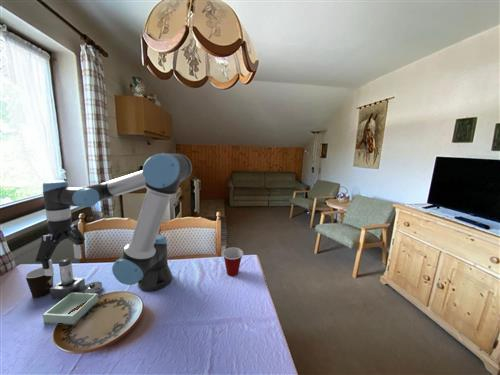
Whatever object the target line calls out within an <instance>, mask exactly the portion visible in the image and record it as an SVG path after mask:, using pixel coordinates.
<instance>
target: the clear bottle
mask: <svg viewBox="0 0 500 375" xmlns="http://www.w3.org/2000/svg"><path fill="white" fill-rule="evenodd" d="M58 268H59V274H60V281H61V284H62V286H64V287H69V286H70V285H71V284H73V283H74V279H73V277H74V271H73V263H72V258H70V257H68V258H63V259H60V260H59V261H58Z"/></svg>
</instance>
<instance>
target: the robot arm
mask: <svg viewBox="0 0 500 375" xmlns="http://www.w3.org/2000/svg"><path fill="white" fill-rule="evenodd" d="M192 171H193V165H192V162H191V160H190V159H189V157H188V156H186V155H185V154H182V153H179V152H178V153H174V152H173V153H168V152H167V153H166V152H162V153H156V154H154V155H152V156H150V157H149V158H148V159H146V160H145V161H144V164H143V166H142V170H139V171H136V172H132V173H130V174H126V175H123V176H120V177H117V178H114V179H110V180H108V181H104V182H101V183H96V184H92V185H91V184H90V185H85V186H79V187H76V186H75V187H74V186H69V183H68V181H66V180H50V181H49V180H48V181H45V182H43V183H42V195H43V201H44V208H45V216H46V226H47V230H49V234H47V235H45V234H44V235H41V242H40V245H39V248H38V252H37V255H36V257H35V263H41V266H42V267H43V269H44V270H45V276H53V277H54V267H53V260H52V259H51V258H52V256H53V253H54V252H55V250H56V248H57V246H58V245H59V244H60V243H61V242H63V241H65V240H69V241H70V242H72V243H73V246H72V247H73V256H74V259H78V260H79V259H80V260H81V259H82V249H83V248H82V245H83V244H84V242H85V241H86V238H85V236H83V234H82V232H81V231H80V229H79V227H78V224H73V221H72V210H71V207H78V208H79V207H80V208H92V207H95V206H96V204H97V203H98V202H101V201H104V200H108V199H109V200H110V199H112V198H115V197H118V196H120V195H121V196H122V195H124V194H128V193H131V192H134V191H138V190H142V189H145V188H146V193H145V196H144V199H143V202H142V205H141V209H140V211H139V215H138V219H137V221H136V224H135V227H134V230H133V234H132V235H131V236H132V237H131V240H130V242H128V243H127V244H125V245H124V248H123V251H122V253H121V254H122V255H121V256H120V258H118V259H117V260H116V261H115V262H114V263H113V264H112V267H111V268H112V270H111V271H112V275H113V277H115V279H116V280H117V281H118V282H119V283H121V284H123V285H127V286H132V285H136V284H137V287H138V289H139V290H141V291H145V292H152V291H153V292H154V291H157V290H161V289H163V288H165V287H166V286H168V285H170V283H172V279H173V274H172V271H171V269H170V267H169V264H168V242H167V241H168V240H167V237H166V235H163V234H160V233H159V231H160V228H161V225H162V222H163V219H164V217H165V214H166V211H167V208H168V205H169V203H170V199H171V198H172V196H174V195H176V194H177V192H178V188H179V187H180V183H181V182H183V181H185V180H186V179H188V178H189V177H190V176H191V174H192Z"/></svg>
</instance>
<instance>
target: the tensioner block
mask: <svg viewBox="0 0 500 375" xmlns="http://www.w3.org/2000/svg"><path fill="white" fill-rule="evenodd" d="M73 279H74V283H73V284H71V285H70V286H69V287H64V286H62V284H61V280H60V281H59V282H58V283H56V284H53V287H51V288H50V297H51V299H50V300H58V301H59V300H60V301H61V300H62V299H64V298H65V297H66V296H68V295H69V294H70V293H71V292H72V293H82V292H83V291H82V288H83V287H84V286H85V285H86V280H85V277H74V276H73Z"/></svg>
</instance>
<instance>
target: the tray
mask: <svg viewBox="0 0 500 375" xmlns="http://www.w3.org/2000/svg"><path fill="white" fill-rule="evenodd" d="M87 300H88V301H87ZM85 301H87V302H86V303H85V304H84V305H83V306H82V307H80V308H79V309H78V310H75V311H73V312H71V313H70V314H68V313H69V312H70V311H71V310H72V309H74V308H76V307H77V306H79V305H80V304H82V303H84V302H85ZM97 301H98V302H99V293H98V294H95V293H83V292H80V293H72V292H71V293H70V294H69V295H68V296H66V297H65V298H64V299H62V300H60V301H58V302H57V303H56V304H54V305H53V306H52V307H51V308H49V309H48V310H47V311H45V312H44V313H43V314H42V319H43V324H50V325H51V324H52V325H59V324H58V323H63V324H62V325H69V326H71V325H72V326H73V325H75V324H76V323H77V322H79V320H80V319H82V318H83V317H84V316H85V315H86V314H87V313H88V312H89V311H90V310H91V309H92V308H93V307H94V306H95V305H96V304H97V303H98V302H97ZM96 302H97V303H96ZM95 303H96V304H95Z"/></svg>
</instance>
